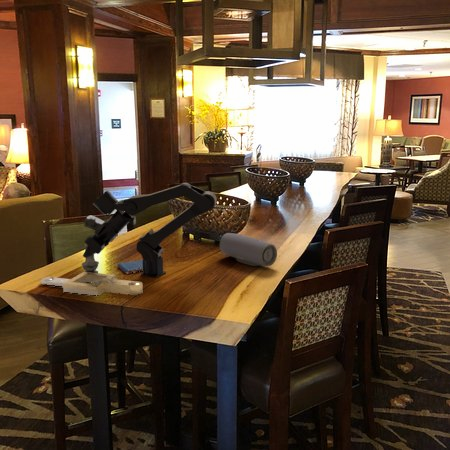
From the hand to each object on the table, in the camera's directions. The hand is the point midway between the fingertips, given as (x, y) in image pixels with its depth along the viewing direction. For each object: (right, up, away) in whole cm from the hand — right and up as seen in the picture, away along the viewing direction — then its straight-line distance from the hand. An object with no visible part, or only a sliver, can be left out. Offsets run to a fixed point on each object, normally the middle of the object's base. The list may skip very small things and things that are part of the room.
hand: (85, 255), depth 171 cm
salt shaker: (+1, -7, +1) cm, 7 cm away
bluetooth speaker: (+57, -4, +13) cm, 59 cm away
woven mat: (+16, -6, +7) cm, 18 cm away
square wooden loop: (+11, -10, -15) cm, 21 cm away
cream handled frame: (0, -9, -12) cm, 15 cm away
